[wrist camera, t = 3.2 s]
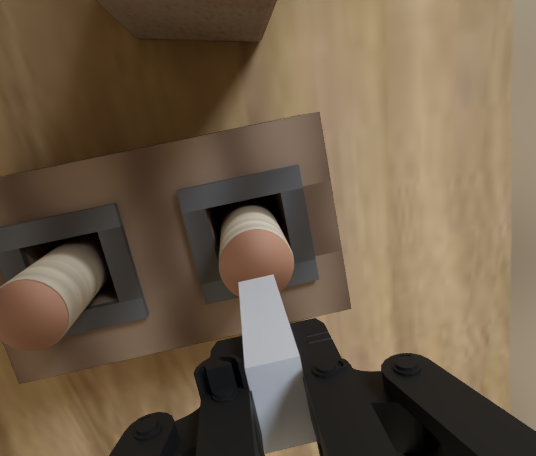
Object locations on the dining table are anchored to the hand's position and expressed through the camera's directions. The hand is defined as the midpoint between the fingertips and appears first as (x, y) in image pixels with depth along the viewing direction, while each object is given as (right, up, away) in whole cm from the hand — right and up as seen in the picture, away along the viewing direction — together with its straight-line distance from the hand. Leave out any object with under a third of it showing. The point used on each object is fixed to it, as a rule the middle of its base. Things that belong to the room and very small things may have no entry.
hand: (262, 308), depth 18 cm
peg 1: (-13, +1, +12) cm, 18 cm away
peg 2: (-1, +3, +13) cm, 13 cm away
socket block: (-8, +3, +18) cm, 20 cm away
